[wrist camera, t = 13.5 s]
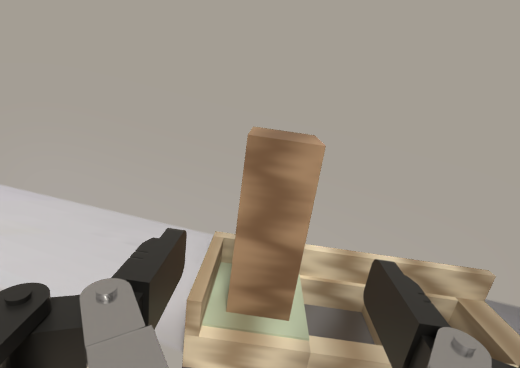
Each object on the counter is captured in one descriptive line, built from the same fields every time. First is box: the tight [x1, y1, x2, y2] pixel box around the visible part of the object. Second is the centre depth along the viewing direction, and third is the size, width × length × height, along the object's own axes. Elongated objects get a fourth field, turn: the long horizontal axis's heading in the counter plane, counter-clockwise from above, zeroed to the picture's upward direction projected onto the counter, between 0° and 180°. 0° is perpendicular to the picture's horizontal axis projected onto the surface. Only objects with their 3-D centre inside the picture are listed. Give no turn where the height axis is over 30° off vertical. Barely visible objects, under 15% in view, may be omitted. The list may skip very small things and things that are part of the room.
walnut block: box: [226, 127, 325, 321], centre depth 22 cm, size 5×5×14 cm
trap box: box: [182, 232, 520, 368], centre depth 25 cm, size 28×10×6 cm, turn 88°
